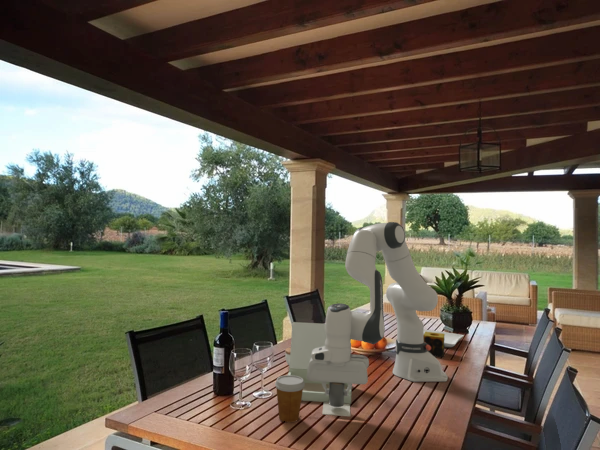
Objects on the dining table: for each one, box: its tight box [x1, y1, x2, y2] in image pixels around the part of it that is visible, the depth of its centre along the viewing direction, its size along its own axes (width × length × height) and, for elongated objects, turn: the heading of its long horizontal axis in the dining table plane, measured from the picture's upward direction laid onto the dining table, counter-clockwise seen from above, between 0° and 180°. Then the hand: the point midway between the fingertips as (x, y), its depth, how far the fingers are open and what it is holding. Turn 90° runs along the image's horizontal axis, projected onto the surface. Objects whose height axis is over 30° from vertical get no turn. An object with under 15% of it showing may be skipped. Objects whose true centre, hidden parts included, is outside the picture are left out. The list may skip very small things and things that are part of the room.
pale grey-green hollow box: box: [287, 321, 352, 405], centre depth 151 cm, size 24×25×23 cm
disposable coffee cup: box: [274, 374, 305, 423], centre depth 127 cm, size 10×10×12 cm
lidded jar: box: [284, 346, 291, 366], centre depth 177 cm, size 11×11×9 cm
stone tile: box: [321, 402, 351, 417], centre depth 132 cm, size 9×9×1 cm
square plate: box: [423, 329, 465, 348], centre depth 230 cm, size 27×27×4 cm
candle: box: [423, 332, 445, 358], centre depth 204 cm, size 10×10×10 cm
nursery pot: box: [328, 382, 345, 407], centre depth 133 cm, size 5×5×9 cm
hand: (336, 395), depth 133 cm, fingers closed on nursery pot, 5 cm apart
